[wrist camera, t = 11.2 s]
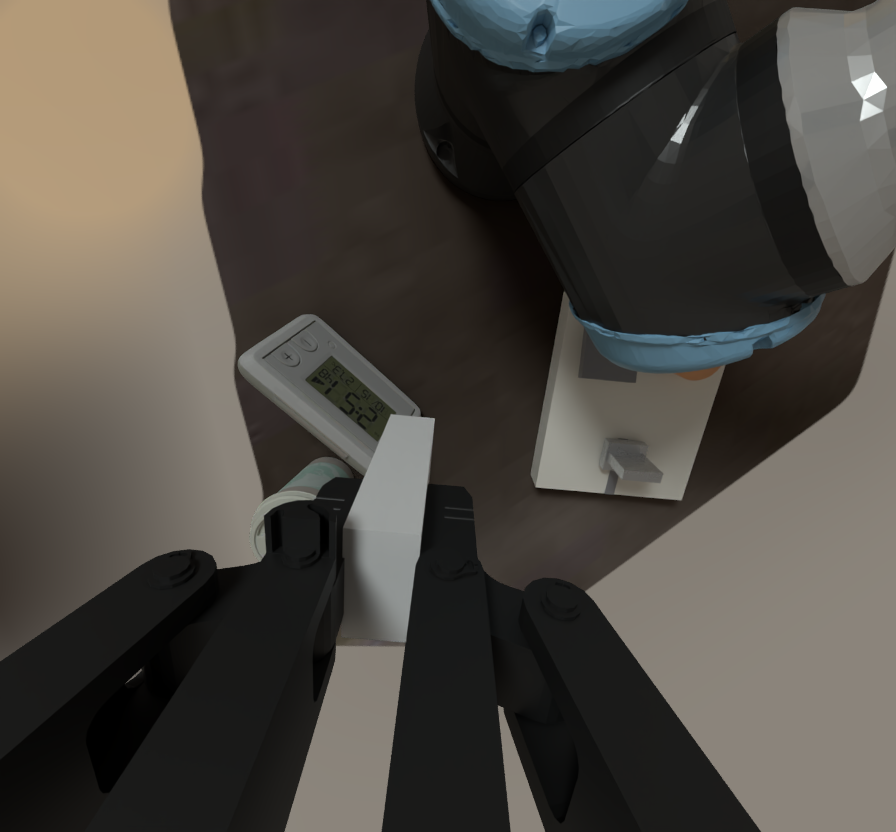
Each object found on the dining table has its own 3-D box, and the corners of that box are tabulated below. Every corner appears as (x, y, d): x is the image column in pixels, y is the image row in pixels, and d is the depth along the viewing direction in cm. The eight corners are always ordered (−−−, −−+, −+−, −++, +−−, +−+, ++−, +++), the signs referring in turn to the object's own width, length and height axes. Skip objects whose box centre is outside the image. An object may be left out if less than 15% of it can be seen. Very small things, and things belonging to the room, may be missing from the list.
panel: (567, 271, 40) (577, 271, 37) (729, 288, 40) (753, 289, 37) (530, 474, 47) (536, 489, 44) (667, 486, 48) (683, 502, 44)
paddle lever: (604, 437, 42) (624, 459, 37) (643, 441, 42) (668, 463, 37) (598, 464, 43) (617, 489, 38) (636, 467, 43) (659, 493, 38)
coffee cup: (369, 451, 47) (343, 510, 35) (362, 516, 49) (336, 589, 38) (293, 440, 46) (242, 495, 35) (290, 505, 49) (242, 576, 38)
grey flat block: (586, 308, 38) (590, 306, 37) (639, 313, 38) (645, 311, 37) (578, 377, 39) (581, 377, 37) (630, 382, 39) (636, 382, 38)
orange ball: (655, 319, 41) (681, 325, 37) (702, 324, 42) (734, 330, 37) (643, 366, 43) (666, 378, 38) (688, 370, 43) (717, 382, 38)
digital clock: (430, 418, 45) (423, 460, 35) (365, 460, 47) (342, 512, 37) (335, 291, 41) (297, 298, 31) (268, 342, 43) (211, 365, 33)
